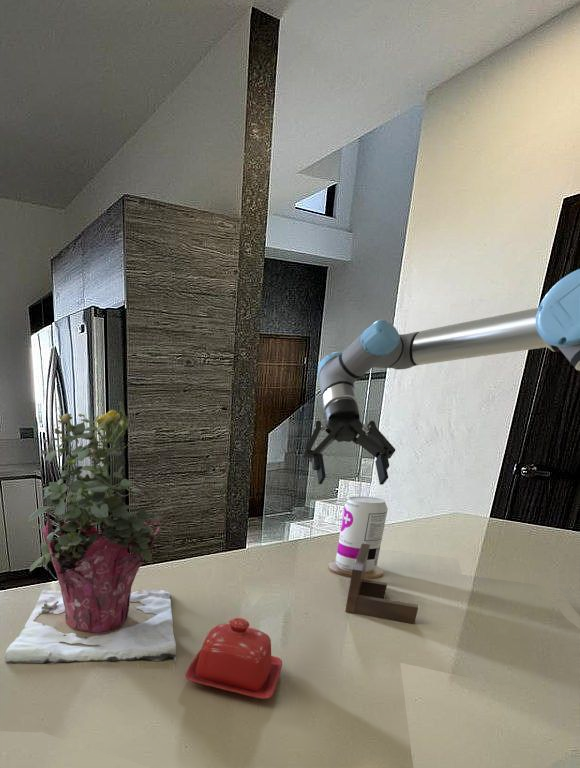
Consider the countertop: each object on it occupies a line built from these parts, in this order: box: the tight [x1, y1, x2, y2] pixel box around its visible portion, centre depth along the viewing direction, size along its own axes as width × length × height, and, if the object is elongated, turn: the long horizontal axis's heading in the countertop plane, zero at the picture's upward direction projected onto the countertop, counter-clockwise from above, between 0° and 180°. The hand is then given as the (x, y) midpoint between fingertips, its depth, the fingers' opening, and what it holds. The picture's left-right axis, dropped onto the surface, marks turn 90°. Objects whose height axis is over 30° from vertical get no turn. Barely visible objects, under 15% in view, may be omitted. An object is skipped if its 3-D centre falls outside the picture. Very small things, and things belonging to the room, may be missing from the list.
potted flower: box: [4, 401, 177, 664], centre depth 74 cm, size 27×25×35 cm
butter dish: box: [184, 617, 283, 700], centre depth 64 cm, size 12×12×8 cm
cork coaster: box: [327, 560, 384, 580], centre depth 105 cm, size 11×11×1 cm
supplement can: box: [335, 496, 388, 572], centre depth 103 cm, size 8×8×15 cm
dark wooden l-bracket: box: [344, 544, 419, 625], centre depth 88 cm, size 11×18×8 cm, turn 151°
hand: (353, 481), depth 108 cm, fingers open, 13 cm apart
